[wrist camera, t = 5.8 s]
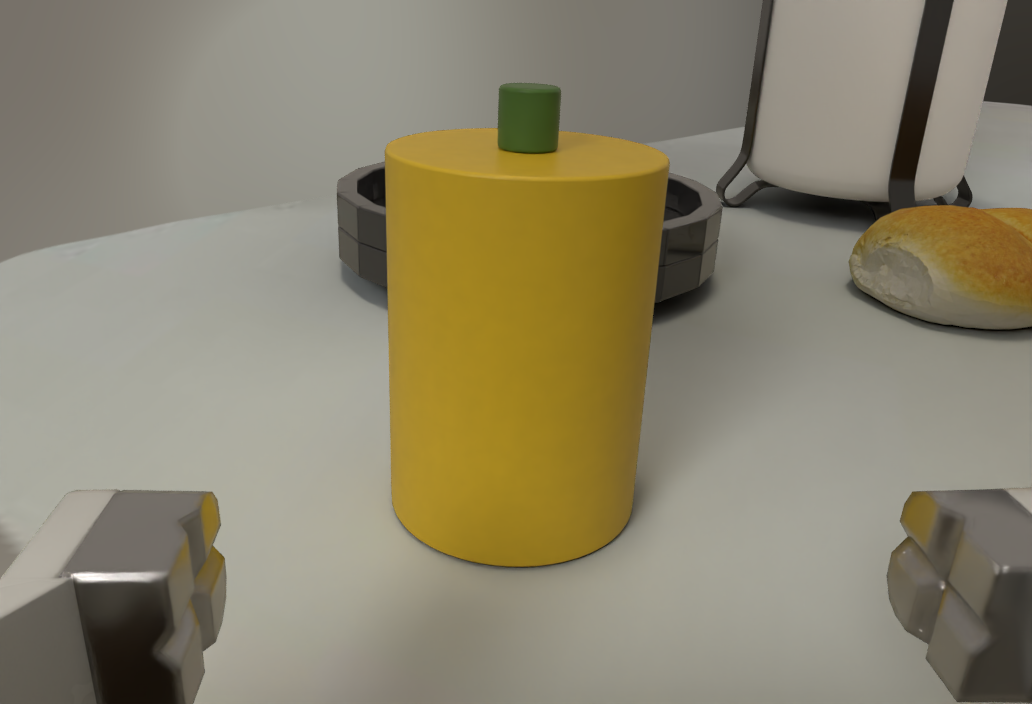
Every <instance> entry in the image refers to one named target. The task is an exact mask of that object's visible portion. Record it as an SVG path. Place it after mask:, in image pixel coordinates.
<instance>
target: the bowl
mask: <svg viewBox="0 0 1032 704" xmlns="http://www.w3.org/2000/svg"><path fill="white" fill-rule="evenodd" d="M722 208H723V207H722V204H721V201H720V199H719V196H718V194H717V193H716V192H715V191H713V190H711V189H709V188H707V187H706V186H704V185H702V184H700V183H699V182H697V181H694V180H691V179H688V178H685V177H682V176H678V175H675V174H672V173H668V182H667V192H666V201H665V210H664V219H663V228H662V238H661V247H660V256H659V265H658V274H657V284H656V293H655V302H654V303H657V302H660V301H663V300H666V299H668V298H671V297H674V296H676V295H679V294H682V293H685V292H687V291H690V290H693V289H695V288H698V287H699V286H700V285H701V284H702V283H703V282H704V281H705V280H706V279H707V278H708V277H709V276H710V275H711V274H712V273H713V272H714V268H715V260H716V253H717V246H718V237H719V230H720V223H721V216H722ZM337 209H338V233H339V257H340V259H341V260H342V261H343V262H344V263H345V264H346V265H347V266H348V267H350V268H351V269H352V270H353V271H354V272H355V273H356V274H357V275H359V276H360V277H361V278H364V279H366V280H369V281H372V282H374V283H377V284H379V285H382V286H384V287H387V237H386V187H385V162H381V163H377V164H374V165H370V166H366V167H362V168H358V169H356V170H355V171H353V172H351V173H349V174H348V175H346V176H344V177H343V178H341V179H339V180H338V185H337ZM387 288H388V287H387Z"/></svg>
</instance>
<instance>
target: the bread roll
mask: <svg viewBox="0 0 1032 704" xmlns="http://www.w3.org/2000/svg"><path fill="white" fill-rule="evenodd" d="M849 266H850V272H851V275H852V278H853V280H854V282H855V284H856V285H857V287H858V288H859V289H861V290H862V291H864V292H865V293H867V294H869V295H871V296H873V297H874V298H876V299H878V300H879V301H881V302H882V303H884V304H886V305H887V306H889V307H891V308H892V309H894V310H897V311H899V312H901V313H904V314H906V315H910V316H913V317H916V318H919V319H922V320H925V321H928V322H933V323H939V324H944V325H956V326H961V327H966V328H981V329H1016V328H1024V327H1031V326H1032V209H1026V208H995V209H976V208H968V207H960V206H953V205H934V206H920V207H912V208H904V209H899V210H897V211H895V212H892V213H890V214H888V215H885V216H883V217H881V218H880V219H878V220H877V221H876V222H875V223H874V224H873V225H871V226H870V227H869V228H868V229H867V231H866V232H865V233H864V234H863V235H862V236H861V237H860V238H859V240H858V241H857V243H856V245H855V246H854V248H853V252H852V255H851V257H850V260H849Z"/></svg>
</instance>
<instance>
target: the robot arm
mask: <svg viewBox="0 0 1032 704" xmlns="http://www.w3.org/2000/svg"><path fill="white" fill-rule="evenodd" d="M900 523H901V525H902V527H903V528H904V530H905V532H906V534H907V536H908V537H907V538H906V539H905V540H904V541H903V542H902V543H901V544H900V545H899V546H898V547H897V548H896V549H895V550H894V551H893V552H892V553H891V558H890V563H889V567H888V572H887V584H888V594H889V600H890V603H891V605H892V608H893V610H894V613H895V616H896V617H897V618H898V620H899V621H900V623H901V624H902V626H903V627H904V629H905V630H906V631H907V632H909V633H910V634H912V635H914V636H915V637H917V638H919V639H920V640H922V641H924V642H925V643H927V644H928V649H927V654H926V660H927V661H928V663H929V664H930V665H931V667H932V668H933V670H934V671H935V672H936V674H937V675H938V677H939V678H940V679H941V681H942V682H943V683H944V685H945V686H946V688H947V689H948V690H949V692H950V693H951V695H952V696H953V697H954V699H955V700H956V702H1026V703H1031V704H1032V487H1031V488H1007V489H987V490H952V491H917V492H912V493H911V495H910V496H909V498H908V499H907V501H906V502H905V504H904V507H903V511H902V515H901V518H900ZM220 526H221V521H220V514H219V507H218V500H217V498H216V497H215V495H214V494H213V492H207V491H149V490H122V491H119V490H117V489H115V490H76V491H72V492H69V493H67V494H66V495H65V496H64V497H63V498H62V500H61V501H60V502H59V504H58V505H57V506H56V507H55V509H54V510H53V511H52V513H51V514H50V515H49V516H48V518H47V519H46V520H45V522H44V523H43V524H42V526H41V527H40V528H39V529H38V531H37V532H36V533H35V535H34V536H33V537H32V539H31V540H30V541H29V542H28V544H27V545H26V546H25V548H24V549H23V550H22V551H21V553H20V554H19V555H18V557H17V558H16V559H15V561H14V562H13V563H12V564H11V566H10V567H9V569H8V570H7V571H6V572H5V574H4V575H3V576H2V578H0V704H193V703H194V700H195V698H196V695H197V692H198V690H199V687H200V684H201V681H202V679H203V676H204V673H205V669H204V660H203V651H205V650H206V649H207V648H208V647H210V646H211V645H212V644H214V643H215V642H216V640H217V637H218V634H219V631H220V628H221V625H222V621H223V614H224V608H225V602H226V567H225V558H224V557H223V556H222V555H221V554H220V553H219V552H218V551H217V550H216V549H215V548H214V546H213V543H214V541H215V538H216V536H217V533H218V531H219V529H220Z"/></svg>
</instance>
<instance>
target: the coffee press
mask: <svg viewBox="0 0 1032 704" xmlns="http://www.w3.org/2000/svg"><path fill="white" fill-rule="evenodd" d="M1006 4H1007V0H763V4H762V11H761V18H760V26H759V33H758V39H757V46H756V53H755V61H754V68H753V74H752V82H751V89H750V96H749V103H748V111H747V117H746V124H745V131H744V137H743V143H742V148H741V152H740V154H739V156H738V158H737V160H736V161H735V162H734V164H733V165H732V166H731V168H730V169H729V170H728V171H727V172H726V173H725V175H724V176H723V177H722V178H721V179H720V181H719V182H718V184H717V186H716V193H717V194H718V196H719V198H720V199H721V200H722V201H724V202H725V203H726V204H727V205H729V206H733V207H735V206H739V205H741V204H743V203H744V202H745V201H747V200H748V199H749V198H750V197H751V196H752V195H754V194H755V193H756V192H758V191H759V190H761V189H763V188H766V187H782V188H785V189H789V190H793V191H797V192H802V193H807V194H812V195H818V196H825V197H832V198H840V199H849V200H859V201H861V202H862V203H864V204H866V205H868V206H869V207H870V208H871V209H872V211H873V213H874V216H875V220H876V221H877V220H878V219H880V218H881V217H883V216H885V215H888V214H890V213H892V212H895V211H897V210H899V209H904V208H912V207H916V204H915V201H921V200H928V199H932V198H933V199H934V201H935V202H936V203H937V205H948V204H947V203H946V201H945V200H944V199H943V197H942V195H944V194H946V193H948V192H950V191H951V190H952V189H954V188H955V187H956V186H957V189H958V197H957V199H956V200H955V201H954V202H953V203H952V204H950V205H953V206H960V207H969V205H970V204H971V202H972V192H971V190H970V188H969V186H968V184H967V182H966V179H965V177H964V172H965V169H966V165H967V162H968V158H969V154H970V150H971V146H972V142H973V138H974V134H975V130H976V126H977V122H978V118H979V114H980V110H981V106H982V102H983V98H984V94H985V90H986V86H987V82H988V78H989V73H990V69H991V65H992V61H993V57H994V53H995V48H996V45H997V41H998V36H999V33H1000V29H1001V24H1002V20H1003V16H1004V12H1005V8H1006ZM745 164H747V166H748V168H749V169H750V170H751V172H752V173H753V174H754V175H756V176H757V177H758V178H760V179H762V180H760V181H756V182H753V183H752V184H750V185H749V186H747V187H746V188H745V189H744V190H743V191H741V192H740V193H739V194H738V195H737V196H735V197H734V198H732V199H725V195H724V194H725V190H726V188H727V186H728V185H729V184H730V183H731V182H732V181H733V179H734V178H735V177H736V176H737V175H738V174H739V172H740V171H741V170H742V169H743V167H744V166H745Z"/></svg>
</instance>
